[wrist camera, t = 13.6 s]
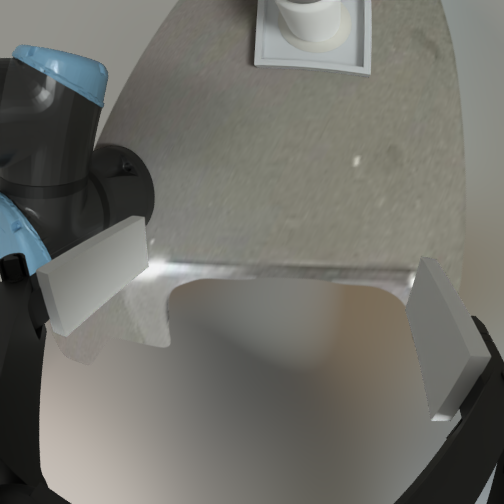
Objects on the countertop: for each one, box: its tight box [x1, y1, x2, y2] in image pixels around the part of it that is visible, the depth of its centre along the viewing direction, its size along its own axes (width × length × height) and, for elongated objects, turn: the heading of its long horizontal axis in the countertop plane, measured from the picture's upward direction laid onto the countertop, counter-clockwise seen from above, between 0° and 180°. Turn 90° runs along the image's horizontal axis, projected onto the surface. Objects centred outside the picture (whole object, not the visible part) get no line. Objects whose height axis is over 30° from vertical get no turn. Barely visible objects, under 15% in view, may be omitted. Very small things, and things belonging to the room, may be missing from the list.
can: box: [275, 0, 341, 42], centre depth 24 cm, size 6×6×12 cm
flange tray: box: [254, 0, 371, 78], centre depth 29 cm, size 14×14×2 cm
